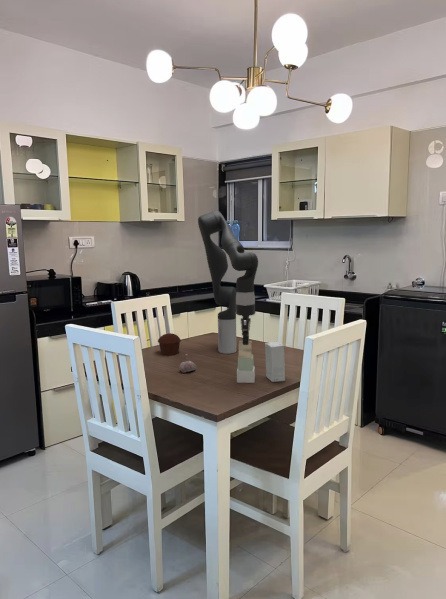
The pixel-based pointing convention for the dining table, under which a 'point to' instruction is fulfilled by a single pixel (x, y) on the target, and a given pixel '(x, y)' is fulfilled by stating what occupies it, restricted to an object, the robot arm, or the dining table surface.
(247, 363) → the sage block
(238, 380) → the grey base block
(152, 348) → the dining table surface
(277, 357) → the skincare box
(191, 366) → the garlic bulb
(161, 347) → the muffin
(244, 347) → the beige metal block
